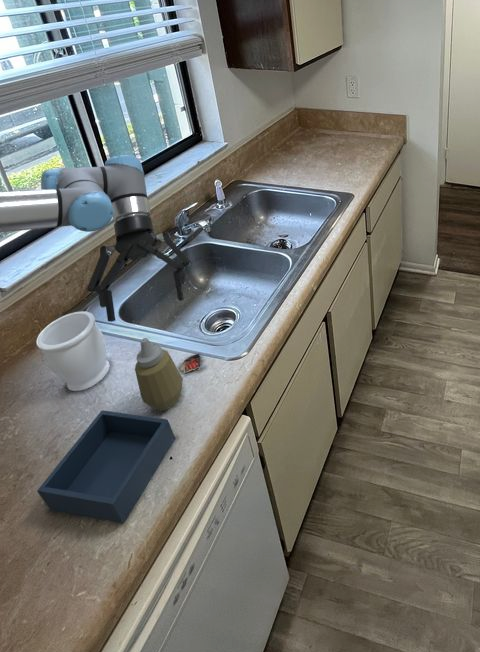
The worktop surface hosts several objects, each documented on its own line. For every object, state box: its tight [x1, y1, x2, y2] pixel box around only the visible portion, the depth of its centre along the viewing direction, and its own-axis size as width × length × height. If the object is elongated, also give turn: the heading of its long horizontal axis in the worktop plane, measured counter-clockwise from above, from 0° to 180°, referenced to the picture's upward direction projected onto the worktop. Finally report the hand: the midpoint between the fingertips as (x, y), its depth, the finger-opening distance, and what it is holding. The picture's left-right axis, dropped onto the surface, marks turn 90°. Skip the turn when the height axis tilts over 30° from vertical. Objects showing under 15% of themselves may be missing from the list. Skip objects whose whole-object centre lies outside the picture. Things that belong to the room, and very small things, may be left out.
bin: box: [36, 409, 176, 525], centre depth 81 cm, size 15×15×6 cm
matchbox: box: [179, 353, 202, 374], centre depth 103 cm, size 5×5×1 cm
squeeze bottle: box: [134, 337, 184, 412], centre depth 92 cm, size 8×8×18 cm
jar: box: [36, 310, 111, 392], centre depth 98 cm, size 11×10×15 cm
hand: (147, 310), depth 96 cm, fingers open, 13 cm apart
